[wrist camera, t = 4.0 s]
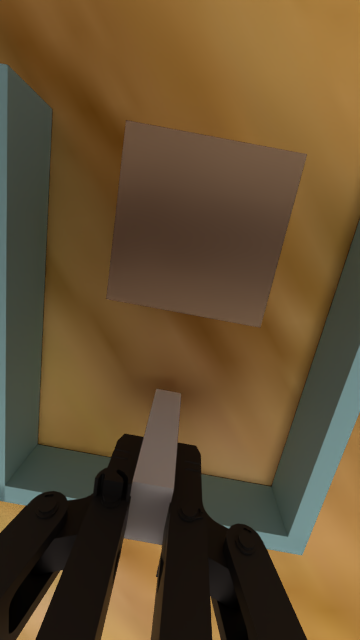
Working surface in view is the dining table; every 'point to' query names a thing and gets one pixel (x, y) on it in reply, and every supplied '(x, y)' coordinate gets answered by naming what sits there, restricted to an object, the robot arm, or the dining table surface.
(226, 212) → the walnut block
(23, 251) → the teal u-shaped frame
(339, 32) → the dining table surface
